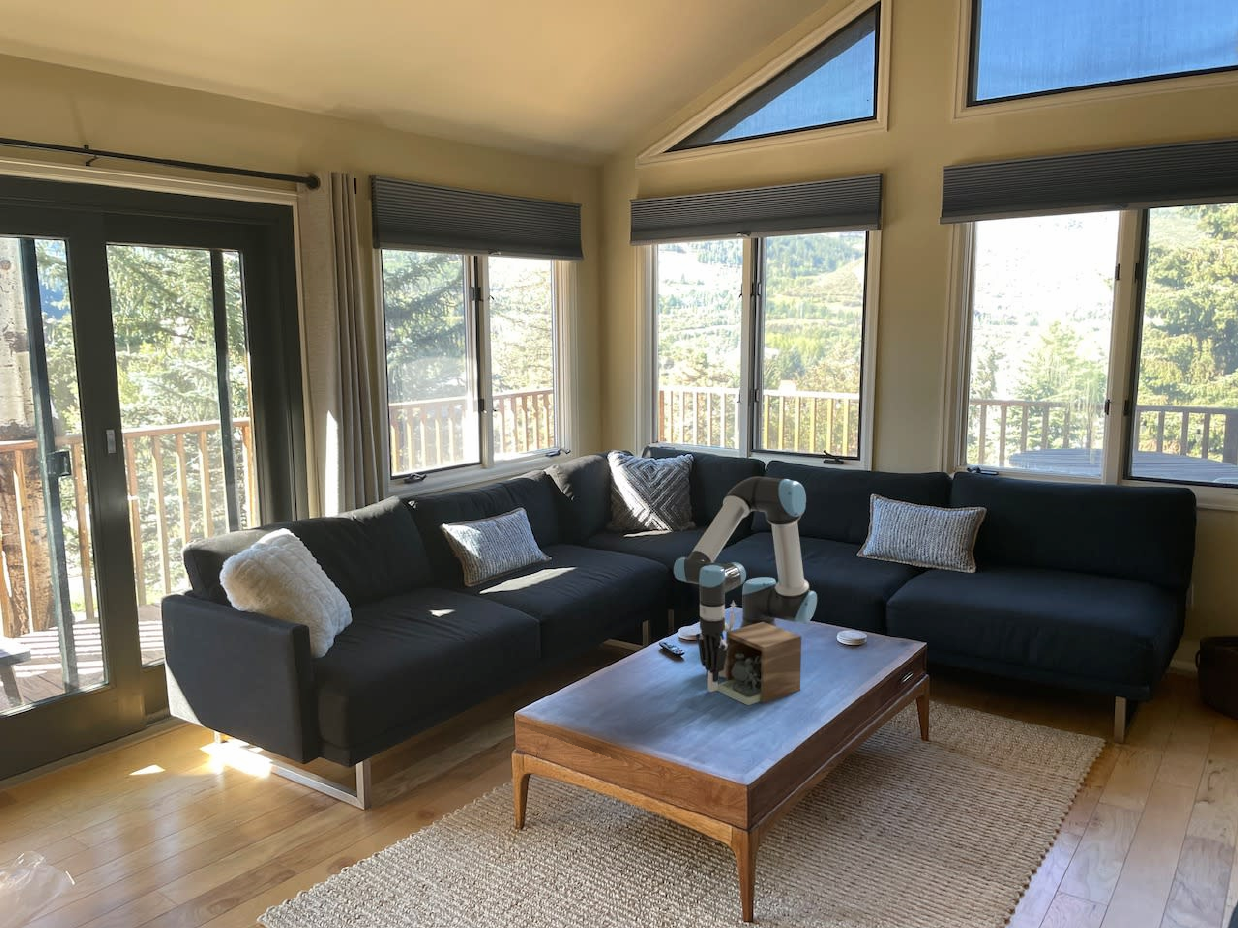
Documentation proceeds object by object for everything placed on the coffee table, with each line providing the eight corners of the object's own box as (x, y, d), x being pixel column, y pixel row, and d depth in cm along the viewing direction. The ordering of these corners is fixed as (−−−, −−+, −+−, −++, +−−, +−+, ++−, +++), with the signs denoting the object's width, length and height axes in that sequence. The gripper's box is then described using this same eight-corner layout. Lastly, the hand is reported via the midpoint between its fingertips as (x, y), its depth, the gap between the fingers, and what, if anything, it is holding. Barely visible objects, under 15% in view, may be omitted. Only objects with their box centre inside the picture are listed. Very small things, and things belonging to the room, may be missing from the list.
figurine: (763, 698, 295) (763, 661, 292) (728, 694, 298) (729, 657, 296) (769, 685, 304) (770, 649, 302) (736, 681, 308) (736, 645, 306)
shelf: (725, 685, 307) (726, 631, 304) (762, 673, 316) (762, 621, 313) (763, 703, 293) (764, 647, 290) (799, 690, 303) (801, 636, 300)
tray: (717, 690, 303) (717, 684, 303) (749, 679, 311) (749, 673, 311) (748, 705, 292) (748, 698, 291) (780, 693, 300) (781, 687, 300)
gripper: (688, 613, 292) (689, 686, 296) (717, 625, 281) (717, 700, 286) (707, 608, 296) (707, 680, 300) (736, 619, 286) (736, 693, 290)
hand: (712, 690), depth 293 cm, fingers closed
